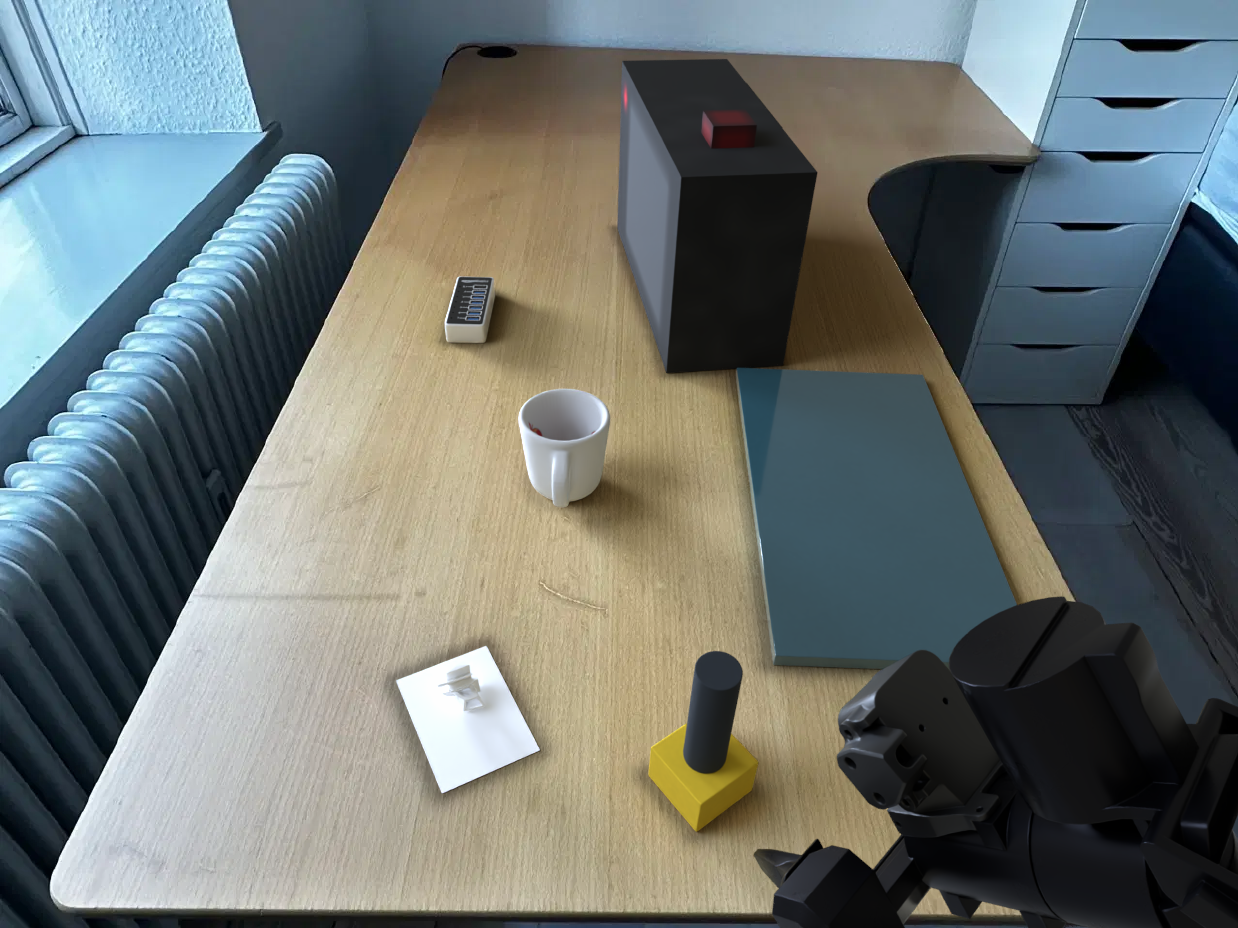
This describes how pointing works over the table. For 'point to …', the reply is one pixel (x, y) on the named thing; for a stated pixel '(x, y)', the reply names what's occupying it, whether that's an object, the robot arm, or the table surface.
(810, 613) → the plate
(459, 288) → the multiport hub
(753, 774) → the sponge wand
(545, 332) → the table surface
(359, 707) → the table surface
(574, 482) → the cup
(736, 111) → the speaker
